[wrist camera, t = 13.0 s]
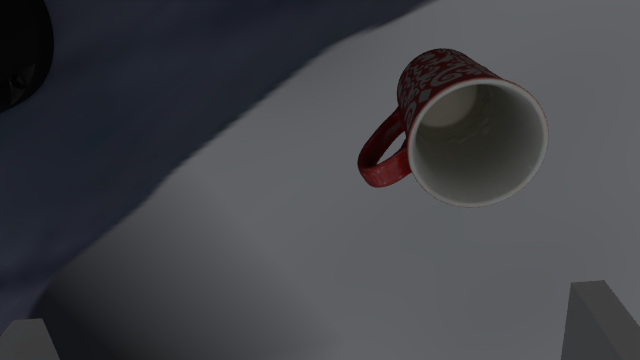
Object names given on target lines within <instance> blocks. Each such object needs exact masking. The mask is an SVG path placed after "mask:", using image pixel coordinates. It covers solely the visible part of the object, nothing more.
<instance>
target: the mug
mask: <svg viewBox="0 0 640 360" xmlns="http://www.w3.org/2000/svg"><path fill="white" fill-rule="evenodd" d="M397 101H398V105H399V106H398V107H397V109H396V110H395V111H394V112H393V113H392V114H391V115H390V116H389V117H388V118H387V119H386V120H385V121H384V122H383V123H382V124H381V125H380V127H379V128H378V129H377V130H376V131H375V132H374V134H373V135H372V136H371V137H370V139H369V140H368V141H367V142H366V144H365V145H364V147H363V148H362V150H361V152H360V154H359V157H358V169H359V171H360V173H361V175H362V177H363V178H364V179H365V181H366V182H367V183H368V184H369V185H370V186H373V187H378V188H379V187H385V186H389V185H392V184H394V183H395V182H397V181H399V180H401V179H402V178H404V177H405V176H407V175H408V174H410V173H413V175H414V177H415V179H416V180H417V182H418V183H419V184H420V185H421V187H422V188H423V189H424V190H425V191H426V192H428V193H429V194H430V195H432V196H433V197H434V198H436V199H438V200H440V201H441V202H444V203H447V204H450V205H454V206H458V207H467V208H470V207H471V208H473V207H483V206H487V205H492V204H495V203H498V202H500V201H502V200H505V199H507V198H509V197H510V196H512V195H514V194H515V193H517V192H518V191H519V190H521V189H522V188H523V187H524V186H525V185H527V184H528V183H529V181H530V180H531V179H532V178H533V177H534V175H535V174H536V173H537V171H538V170H539V168H540V166H541V164H542V162H543V160H544V157H545V154H546V151H547V146H548V124H547V120H546V116H545V114H544V112H543V110H542V108H541V106H540V105H539V103H538V102H537V100H536V99H535V98H534V97H533V96H532V95H531V94H530V93H529V92H528V91H526V90H525V89H524V88H522V87H520V86H519V85H517V84H515V83H513V82H510V81H508V80H504V79H502V78H500V77H499V76H497V75H496V74H494V73H492V72H491V71H489V70H488V69H487V68H485V67H483V66H481V65H480V64H478V63H477V62H475V61H473V60H472V59H471V58H469V57H468V56H466V55H465V54H463V53H461V52H458V51H455V50H452V49H434V50H430V51H427V52H425V53H422V54H421V55H419V56H418V57H416V58H415V59H414V60H412V61H411V62H410V63H409V64H408V66H407V67H406V68H405V69H404V71H403V73H402V75H401V77H400V79H399V83H398V87H397ZM404 131H405V134H406V139H405V140H404V142H403V144H402V146H401V148H400V149H399V150H398V151H397V152H396V153H395V154H394V155H393V156H391V157H390V158H388V159H387V160H385V161H383V162H382V163H380V164H377V162H378V161H379V159H380V158H381V157H382V155H383V154H384V152H385V151H386V150H387V149H388V147H389V146H390V145H391V144H392V142H393V141H394V140H395V139H396V138H397V137H398V136H399V135H400V134H401V133H402V132H404ZM376 164H377V165H376Z"/></svg>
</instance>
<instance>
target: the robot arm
mask: <svg viewBox="0 0 640 360" xmlns="http://www.w3.org/2000/svg"><path fill="white" fill-rule="evenodd" d="M52 55H53V34H52V27H51V22H50V19H49V15H48V12H47V9H46V7H45V4H44V2H43V0H0V113H1V112H4V111H6V110H8V109H10V108H12V107H14V106H16V105H17V104H19V103H21V102H23V101H24V100H26V99H27V98H29V97H30V96H31V95H32V94H33V93H34V92H36V90H37V89H38V88H39V87H40V86H41V84H42V83H43V81H44V79H45V78H46V76H47V73H48V71H49V68H50V65H51V61H52ZM0 360H60V359H59V357H58V355H57V352H56V350H55V348H54V345H53V343H52V341H51V338H50V336H49V334H48V331H47V329H46V327H45V324H44V322H43V319H28V320H13V321H12V323H11V324H10V325H9V326H8V328H7V329H6V330H5V331H4V333H3V334H2V335H1V336H0ZM561 360H640V327H639V325H638V324H637V323H636V321H635V320H634V319H633V317H632V316H631V315H630V314H629V312H628V311H627V310H626V308H625V307H624V306H623V305H622V303H621V302H620V301H619V299H618V298H617V297H616V295H615V294H614V293H613V292H612V290H611V289H610V287H609V286H608V285H607V283H606V282H605V281H604V280H603V281H588V282H574V283H571V289H570V295H569V303H568V311H567V319H566V326H565V334H564V341H563V348H562V355H561Z"/></svg>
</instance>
